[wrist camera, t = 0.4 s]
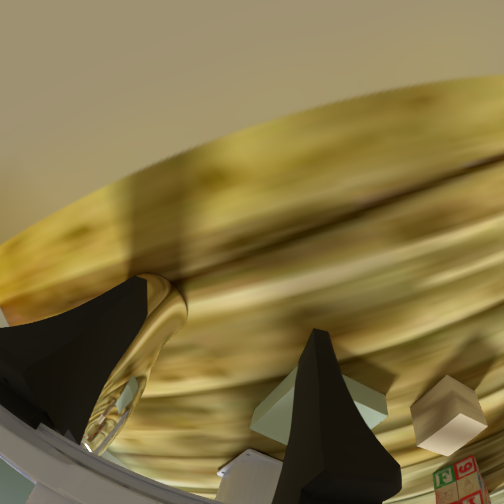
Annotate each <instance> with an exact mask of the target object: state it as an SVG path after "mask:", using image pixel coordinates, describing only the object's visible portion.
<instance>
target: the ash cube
mask: <svg viewBox="0 0 504 504" xmlns="http://www.w3.org/2000/svg"><path fill="white" fill-rule="evenodd" d="M410 410H411V415H412V420H413V426H414V431H415V437H416V443H417V446H418V447H421V448H424V449H427V450H430V451H433V452H436V453H439V454H442V455H445V456H449V455H451V454H452V453H454V452H455V451H456V450H458V449H459V448H461V447H462V446H463V445H465V444H466V443H467V442H469V441H470V440H471V439H473V438H474V437H475V436H477V435H478V434H479V433H480V432H482V431H483V430H484V429H485V428H487V427H488V425H487V422H486V419H485V417H484V414H483V411H482V409H481V406H480V403H479V401H478V398H477V396H476V393H475V391H474V390H472V389H471V388H469V387H467V386H466V385H464V384H462V383H460V382H459V381H457V380H455V379H454V378H452V377H450V376H449V375H446V376H445V377H444V378H443V379H442V380H441V381H439V382H438V383H437V384H436V385H435V386H434V387H433V388H432V389H431V390H430V391H428V392H427V393H426V394H425V395H424V396H423V397H422V398H420V399H419V400H418V401H417V402H416V403H414V404H413V405H412V406H411V407H410Z"/></svg>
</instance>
